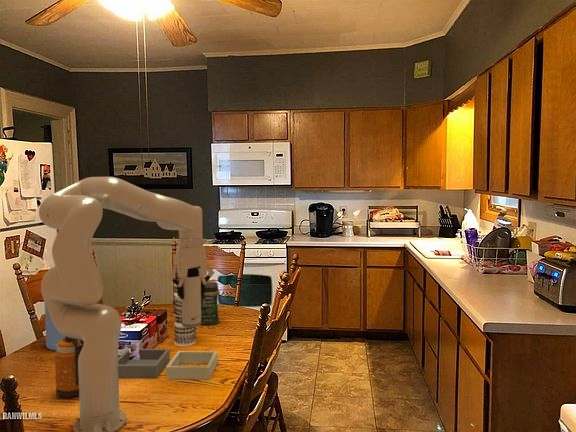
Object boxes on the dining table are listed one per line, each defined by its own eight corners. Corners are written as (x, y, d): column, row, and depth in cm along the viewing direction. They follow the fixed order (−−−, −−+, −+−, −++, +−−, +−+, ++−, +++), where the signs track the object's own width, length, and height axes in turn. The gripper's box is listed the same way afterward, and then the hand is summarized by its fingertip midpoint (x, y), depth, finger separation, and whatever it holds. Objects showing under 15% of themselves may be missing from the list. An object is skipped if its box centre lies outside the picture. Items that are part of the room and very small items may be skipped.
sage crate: (209, 379, 142) (209, 367, 142) (166, 379, 143) (166, 367, 142) (217, 362, 156) (217, 351, 156) (178, 362, 156) (178, 350, 156)
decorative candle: (200, 338, 180) (199, 278, 179) (192, 346, 171) (191, 283, 170) (178, 338, 181) (177, 277, 180) (170, 346, 172) (168, 282, 170)
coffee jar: (197, 326, 197) (196, 284, 196) (197, 320, 205) (197, 281, 203) (219, 325, 198) (218, 284, 197) (219, 319, 206) (218, 280, 205)
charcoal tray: (156, 378, 143) (155, 366, 143) (110, 377, 144) (110, 365, 143) (169, 360, 158) (169, 349, 158) (128, 359, 159) (128, 348, 158)
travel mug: (197, 328, 144) (197, 267, 143) (178, 327, 146) (178, 266, 145) (204, 322, 150) (204, 264, 149) (186, 321, 152) (186, 263, 151)
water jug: (36, 349, 169) (33, 276, 167) (66, 336, 184) (63, 269, 182) (71, 353, 165) (68, 278, 163) (98, 339, 180) (96, 271, 178)
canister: (80, 382, 140) (78, 320, 139) (98, 393, 133) (96, 327, 132) (51, 392, 133) (48, 327, 132) (67, 404, 126) (65, 335, 125)
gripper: (212, 240, 154) (212, 291, 155) (161, 243, 146) (162, 297, 147) (219, 243, 147) (220, 296, 148) (167, 246, 139) (167, 302, 140)
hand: (191, 296), depth 147 cm, fingers closed on travel mug, 6 cm apart
